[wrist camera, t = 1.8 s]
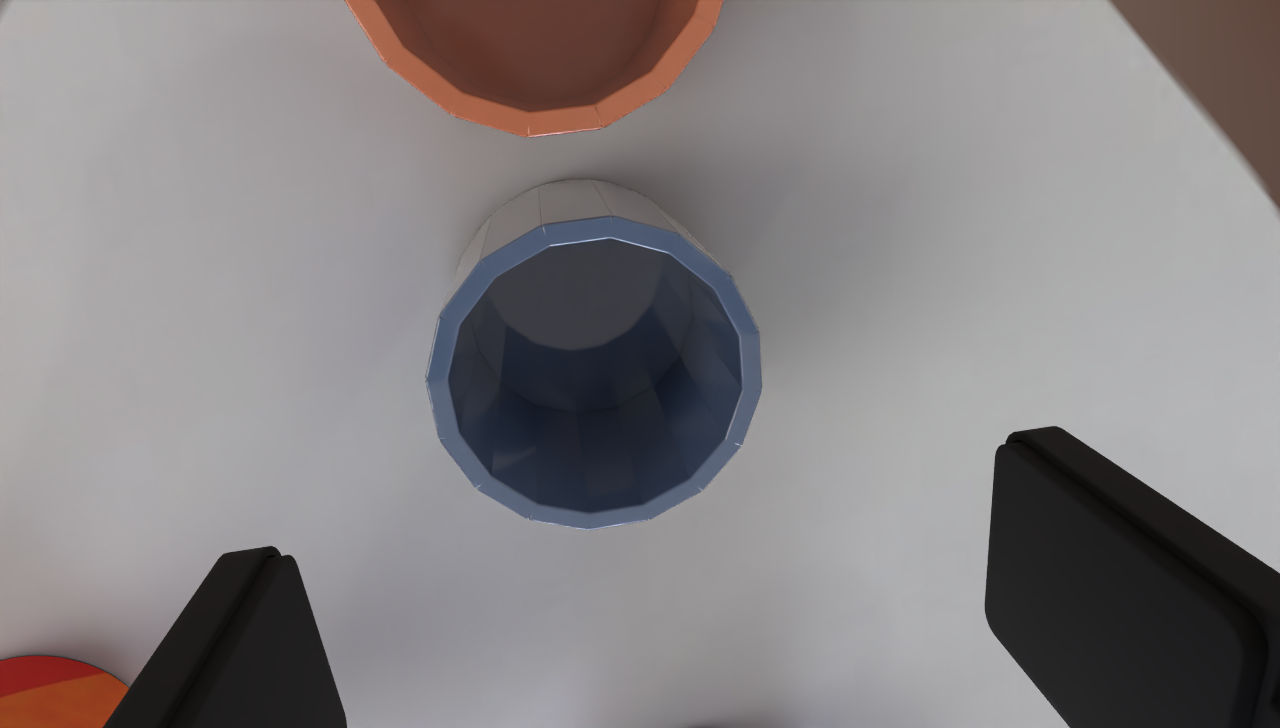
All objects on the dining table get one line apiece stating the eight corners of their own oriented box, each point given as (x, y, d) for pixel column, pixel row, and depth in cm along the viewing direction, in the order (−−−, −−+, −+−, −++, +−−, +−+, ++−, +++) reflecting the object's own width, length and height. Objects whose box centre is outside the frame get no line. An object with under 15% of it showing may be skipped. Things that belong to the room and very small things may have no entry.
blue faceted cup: (405, 329, 21) (360, 421, 15) (556, 123, 19) (566, 142, 14) (602, 457, 23) (626, 578, 17) (750, 280, 22) (827, 351, 16)
